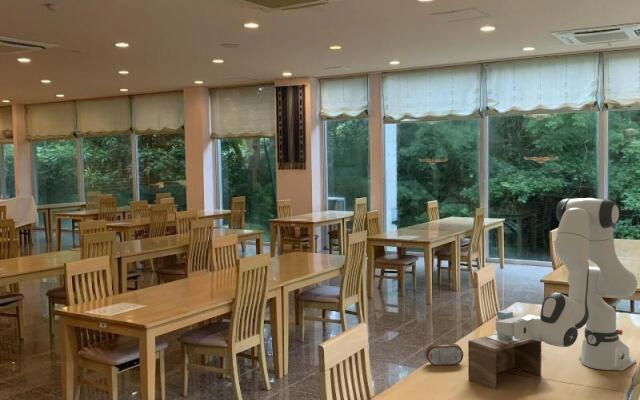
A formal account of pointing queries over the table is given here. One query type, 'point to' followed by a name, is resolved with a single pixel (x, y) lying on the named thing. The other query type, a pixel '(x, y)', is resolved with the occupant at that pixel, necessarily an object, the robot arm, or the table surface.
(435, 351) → the oval desk clock
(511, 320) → the robot arm
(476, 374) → the small brown desk
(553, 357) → the table surface
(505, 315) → the blue block
